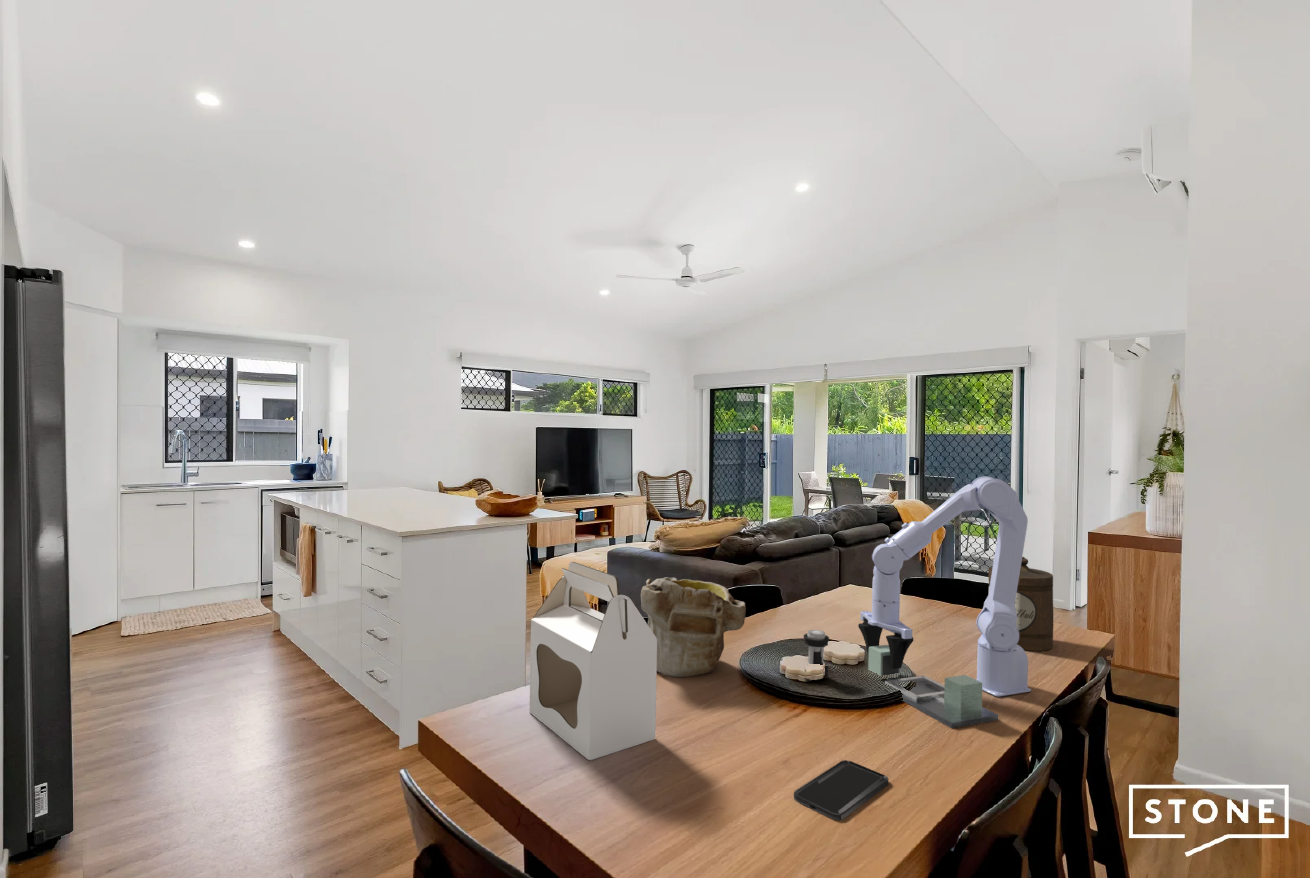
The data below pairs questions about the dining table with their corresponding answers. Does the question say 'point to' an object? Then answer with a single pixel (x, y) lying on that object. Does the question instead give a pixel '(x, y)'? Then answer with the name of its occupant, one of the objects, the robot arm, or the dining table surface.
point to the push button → (816, 647)
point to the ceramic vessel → (689, 623)
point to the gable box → (593, 666)
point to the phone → (841, 789)
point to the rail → (942, 713)
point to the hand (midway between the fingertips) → (884, 662)
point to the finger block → (880, 660)
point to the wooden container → (1034, 608)
